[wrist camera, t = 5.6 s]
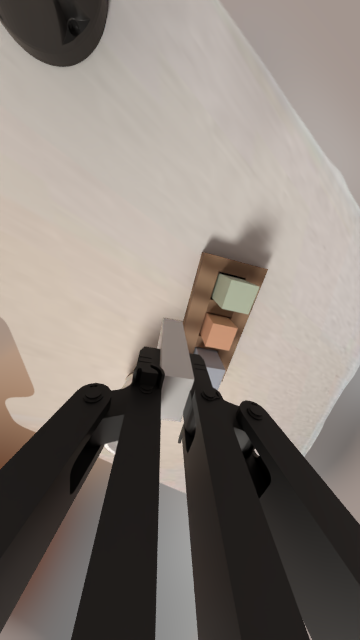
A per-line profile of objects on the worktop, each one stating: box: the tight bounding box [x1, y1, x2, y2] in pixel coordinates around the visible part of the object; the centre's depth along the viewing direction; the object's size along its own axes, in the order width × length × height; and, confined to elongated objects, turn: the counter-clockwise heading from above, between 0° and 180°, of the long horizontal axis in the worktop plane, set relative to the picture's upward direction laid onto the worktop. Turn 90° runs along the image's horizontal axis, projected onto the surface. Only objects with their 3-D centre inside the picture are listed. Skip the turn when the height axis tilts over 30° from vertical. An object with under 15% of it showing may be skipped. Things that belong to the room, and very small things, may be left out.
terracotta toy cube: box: [200, 312, 238, 351], centre depth 38 cm, size 5×5×8 cm
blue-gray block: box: [194, 347, 226, 390], centre depth 40 cm, size 5×5×8 cm
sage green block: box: [212, 273, 259, 315], centre depth 34 cm, size 5×5×8 cm
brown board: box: [183, 252, 268, 382], centre depth 41 cm, size 28×13×3 cm, turn 166°
